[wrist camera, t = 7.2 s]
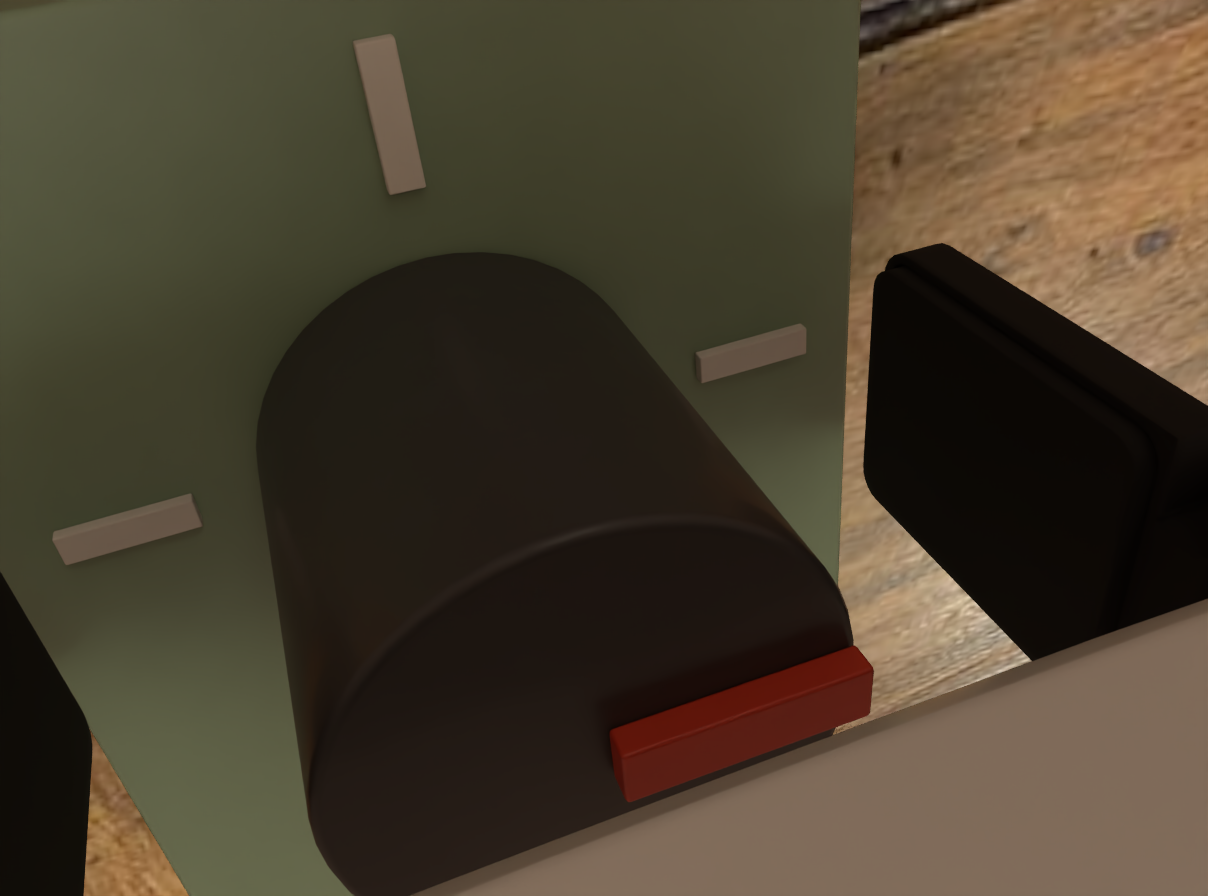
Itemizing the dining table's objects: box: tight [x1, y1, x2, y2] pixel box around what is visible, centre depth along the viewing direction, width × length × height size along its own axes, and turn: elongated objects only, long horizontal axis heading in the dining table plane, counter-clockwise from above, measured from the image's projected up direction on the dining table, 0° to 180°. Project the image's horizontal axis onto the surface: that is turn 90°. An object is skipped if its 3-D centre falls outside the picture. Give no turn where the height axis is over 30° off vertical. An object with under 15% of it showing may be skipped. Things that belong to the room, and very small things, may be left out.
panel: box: [0, 0, 861, 896], centre depth 14 cm, size 14×10×3 cm
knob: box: [256, 252, 874, 896], centre depth 10 cm, size 4×4×5 cm
